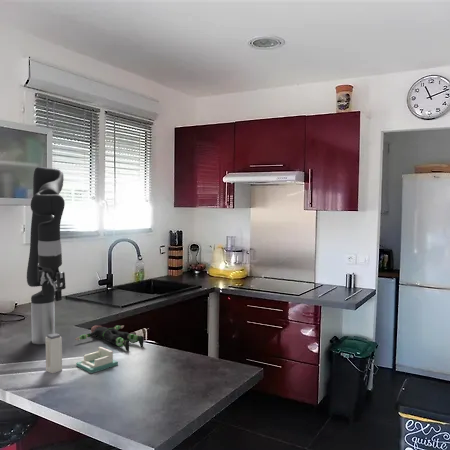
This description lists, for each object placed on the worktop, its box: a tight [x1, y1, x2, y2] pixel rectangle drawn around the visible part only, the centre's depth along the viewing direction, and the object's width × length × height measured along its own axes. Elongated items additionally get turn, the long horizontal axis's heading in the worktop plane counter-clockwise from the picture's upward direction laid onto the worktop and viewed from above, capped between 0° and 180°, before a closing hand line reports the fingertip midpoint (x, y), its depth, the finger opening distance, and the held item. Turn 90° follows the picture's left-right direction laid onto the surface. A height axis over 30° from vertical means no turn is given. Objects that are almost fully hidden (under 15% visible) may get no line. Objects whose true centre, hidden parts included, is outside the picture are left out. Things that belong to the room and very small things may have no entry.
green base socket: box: [75, 346, 119, 374], centre depth 163 cm, size 10×11×5 cm
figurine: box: [74, 325, 145, 352], centre depth 192 cm, size 26×6×30 cm
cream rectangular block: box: [45, 332, 63, 374], centre depth 158 cm, size 4×5×13 cm
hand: (51, 297), depth 156 cm, fingers open, 8 cm apart
